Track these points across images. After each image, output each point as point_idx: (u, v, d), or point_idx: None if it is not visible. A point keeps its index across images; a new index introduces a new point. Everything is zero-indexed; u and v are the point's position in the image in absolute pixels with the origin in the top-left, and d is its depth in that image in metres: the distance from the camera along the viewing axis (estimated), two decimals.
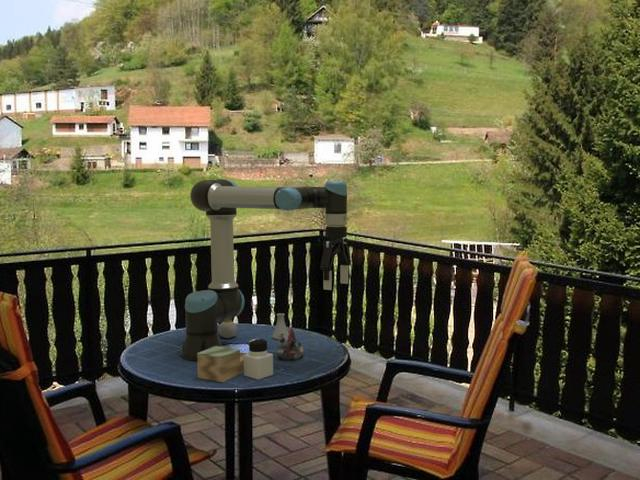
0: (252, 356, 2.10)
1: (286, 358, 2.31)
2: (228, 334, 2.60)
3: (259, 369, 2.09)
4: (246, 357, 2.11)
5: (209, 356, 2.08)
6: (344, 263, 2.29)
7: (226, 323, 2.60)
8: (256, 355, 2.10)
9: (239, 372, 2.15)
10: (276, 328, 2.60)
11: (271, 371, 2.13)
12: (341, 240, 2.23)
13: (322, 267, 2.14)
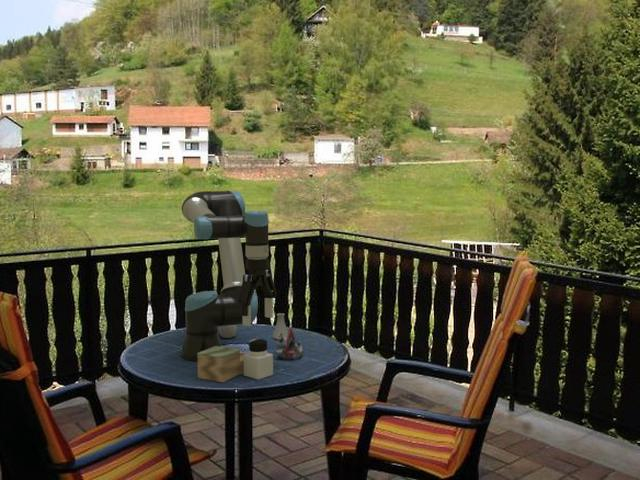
0: (252, 356, 2.10)
1: (285, 358, 2.31)
2: (228, 334, 2.60)
3: (259, 369, 2.09)
4: (246, 357, 2.11)
5: (209, 356, 2.08)
6: (269, 296, 2.18)
7: None
8: (256, 355, 2.10)
9: (239, 372, 2.15)
10: (276, 328, 2.60)
11: (271, 371, 2.13)
12: (263, 272, 2.12)
13: (240, 302, 2.03)
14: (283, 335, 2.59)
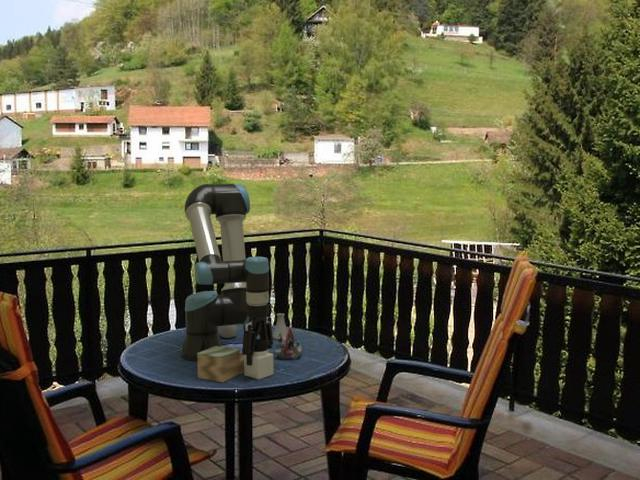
0: None
1: (284, 358, 2.32)
2: (228, 334, 2.60)
3: (260, 369, 2.09)
4: None
5: (209, 356, 2.08)
6: None
7: None
8: (256, 355, 2.10)
9: (239, 372, 2.15)
10: (276, 328, 2.60)
11: (271, 371, 2.13)
12: (264, 317, 2.13)
13: (244, 352, 2.06)
14: (283, 335, 2.59)
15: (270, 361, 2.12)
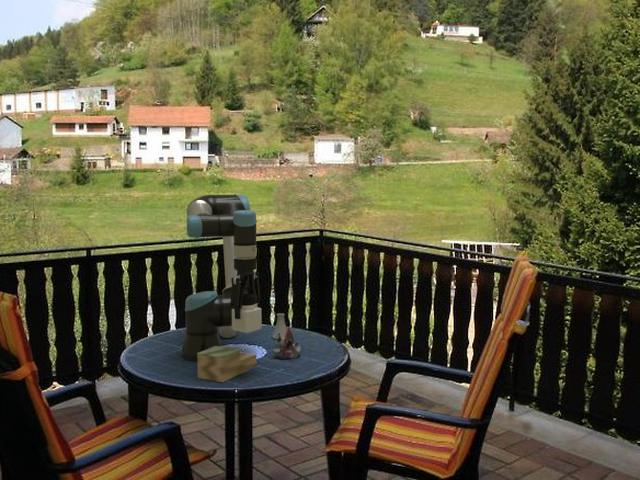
0: None
1: (282, 357, 2.32)
2: (228, 334, 2.60)
3: (248, 322, 2.08)
4: None
5: (209, 356, 2.08)
6: None
7: None
8: (245, 309, 2.09)
9: (239, 372, 2.15)
10: (276, 328, 2.60)
11: (260, 325, 2.12)
12: (251, 271, 2.12)
13: (232, 306, 2.05)
14: (283, 335, 2.59)
15: (258, 315, 2.11)
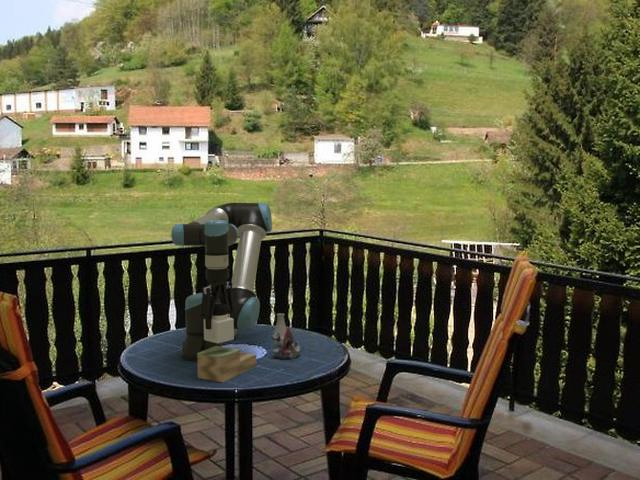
0: None
1: (282, 357, 2.32)
2: None
3: (219, 333, 2.07)
4: None
5: (209, 356, 2.08)
6: None
7: None
8: (216, 319, 2.08)
9: (239, 372, 2.15)
10: (276, 328, 2.60)
11: (232, 335, 2.11)
12: (224, 281, 2.11)
13: (202, 316, 2.04)
14: (283, 335, 2.59)
15: (230, 325, 2.10)
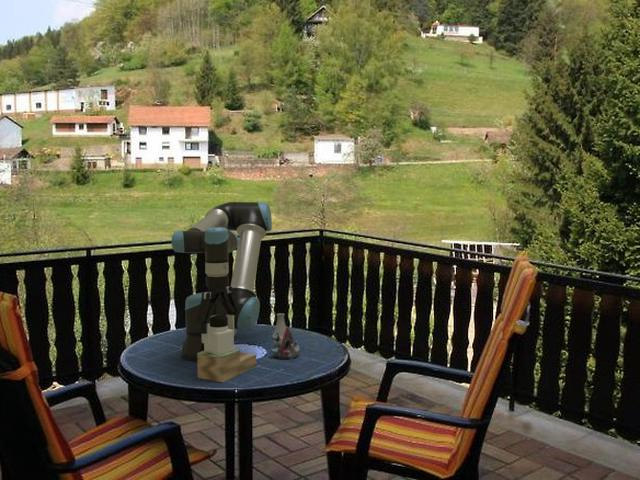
0: (212, 332, 2.08)
1: (281, 357, 2.33)
2: None
3: (219, 344, 2.07)
4: None
5: (209, 356, 2.08)
6: (230, 312, 2.17)
7: None
8: (216, 331, 2.08)
9: (239, 372, 2.15)
10: (276, 328, 2.60)
11: (232, 347, 2.11)
12: (224, 289, 2.11)
13: (198, 320, 2.02)
14: None
15: (230, 337, 2.11)
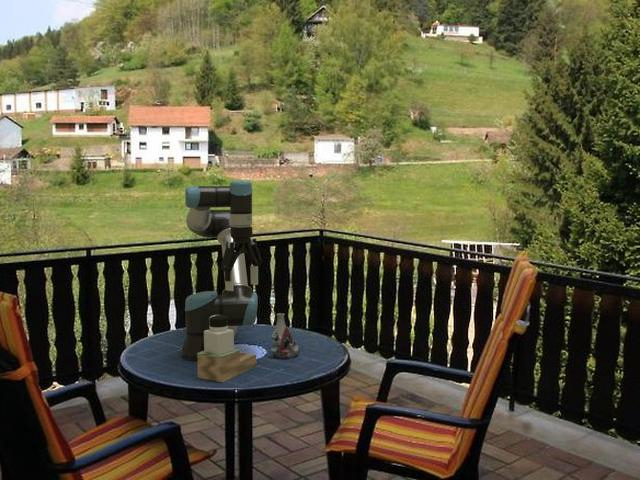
0: (212, 332, 2.08)
1: (279, 357, 2.33)
2: None
3: (220, 344, 2.07)
4: (206, 333, 2.10)
5: (209, 356, 2.08)
6: (254, 264, 2.26)
7: None
8: (216, 331, 2.08)
9: (239, 372, 2.15)
10: (276, 328, 2.60)
11: (232, 347, 2.11)
12: (247, 240, 2.20)
13: (222, 268, 2.11)
14: None
15: (230, 337, 2.11)
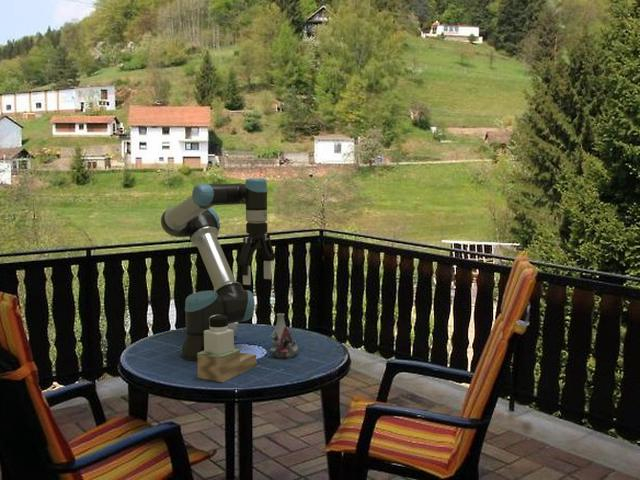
0: (212, 332, 2.08)
1: (279, 356, 2.33)
2: None
3: (220, 344, 2.07)
4: (206, 333, 2.10)
5: (209, 356, 2.08)
6: (267, 259, 2.33)
7: None
8: (216, 331, 2.08)
9: (239, 372, 2.15)
10: (276, 328, 2.60)
11: (232, 347, 2.11)
12: (262, 236, 2.27)
13: (240, 262, 2.18)
14: None
15: (230, 337, 2.11)
